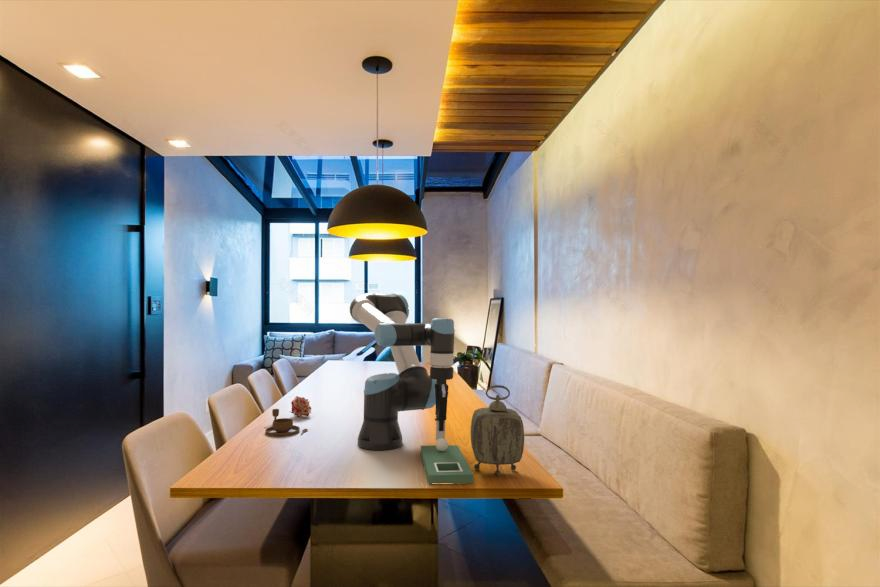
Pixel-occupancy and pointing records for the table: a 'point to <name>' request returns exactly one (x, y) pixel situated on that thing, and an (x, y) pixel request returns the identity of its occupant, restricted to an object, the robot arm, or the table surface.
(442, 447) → the ball
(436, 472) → the green slotted plate
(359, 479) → the table surface
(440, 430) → the robot arm
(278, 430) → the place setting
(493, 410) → the tabletop clock
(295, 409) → the flower
